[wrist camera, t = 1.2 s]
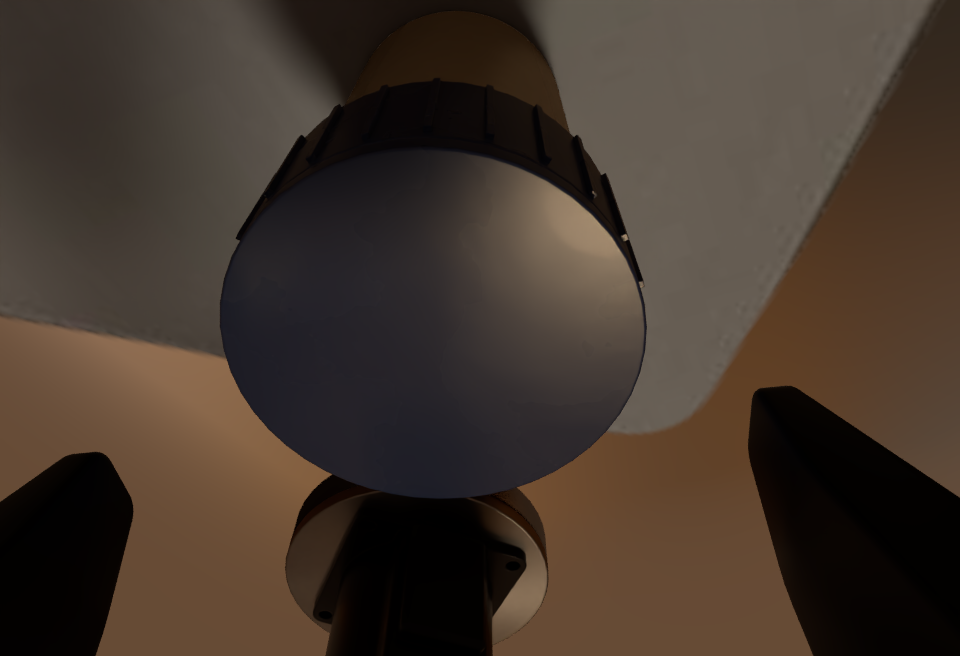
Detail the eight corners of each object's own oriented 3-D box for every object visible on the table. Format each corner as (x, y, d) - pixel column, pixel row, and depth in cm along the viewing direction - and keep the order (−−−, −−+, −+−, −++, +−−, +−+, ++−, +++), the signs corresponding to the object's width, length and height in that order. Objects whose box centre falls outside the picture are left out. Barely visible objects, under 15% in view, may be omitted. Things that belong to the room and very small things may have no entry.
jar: (511, 240, 21) (525, 498, 13) (330, 172, 20) (221, 407, 12) (597, 62, 18) (684, 247, 10) (393, -28, 17) (308, 98, 9)
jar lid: (531, 428, 15) (538, 541, 13) (232, 332, 14) (180, 437, 11) (688, 164, 12) (738, 247, 9) (320, 9, 11) (272, 60, 8)
